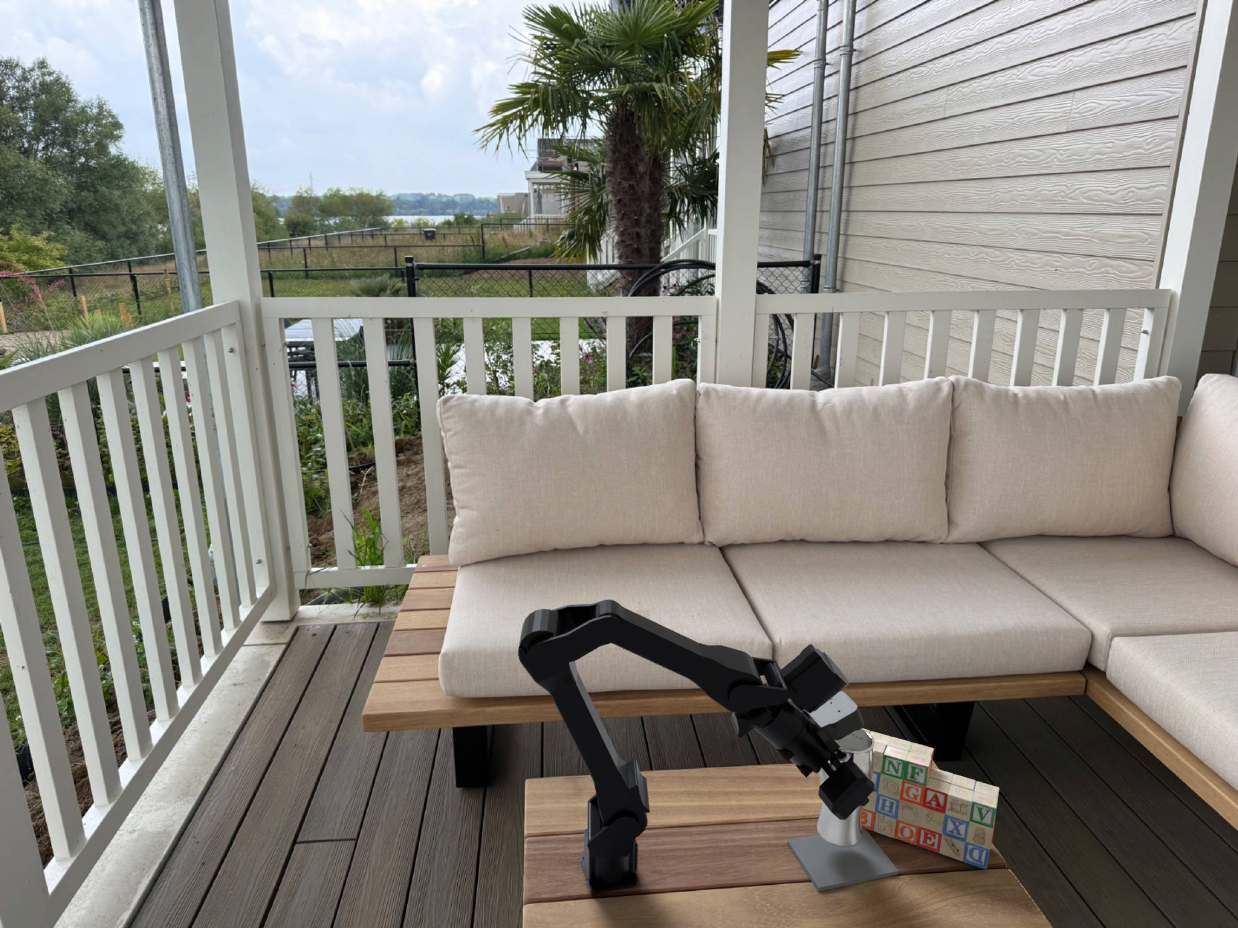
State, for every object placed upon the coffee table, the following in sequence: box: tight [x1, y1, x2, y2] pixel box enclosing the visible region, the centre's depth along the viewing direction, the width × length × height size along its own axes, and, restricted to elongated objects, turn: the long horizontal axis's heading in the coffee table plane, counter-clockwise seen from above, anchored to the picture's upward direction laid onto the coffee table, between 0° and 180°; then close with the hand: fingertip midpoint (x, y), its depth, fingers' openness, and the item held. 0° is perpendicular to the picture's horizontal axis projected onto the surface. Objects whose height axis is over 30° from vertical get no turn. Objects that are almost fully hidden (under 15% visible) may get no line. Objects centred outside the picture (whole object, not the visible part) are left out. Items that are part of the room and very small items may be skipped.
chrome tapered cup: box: [816, 728, 875, 847], centre depth 110 cm, size 7×7×15 cm
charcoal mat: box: [787, 827, 899, 892], centre depth 112 cm, size 12×9×1 cm
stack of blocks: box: [861, 727, 1000, 870], centre depth 116 cm, size 21×6×12 cm, turn 60°
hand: (853, 786), depth 110 cm, fingers closed on chrome tapered cup, 6 cm apart
